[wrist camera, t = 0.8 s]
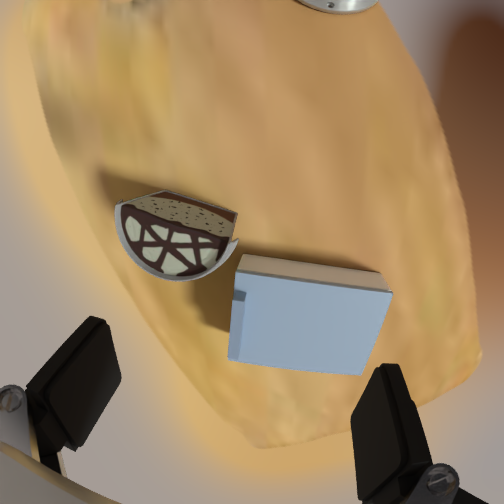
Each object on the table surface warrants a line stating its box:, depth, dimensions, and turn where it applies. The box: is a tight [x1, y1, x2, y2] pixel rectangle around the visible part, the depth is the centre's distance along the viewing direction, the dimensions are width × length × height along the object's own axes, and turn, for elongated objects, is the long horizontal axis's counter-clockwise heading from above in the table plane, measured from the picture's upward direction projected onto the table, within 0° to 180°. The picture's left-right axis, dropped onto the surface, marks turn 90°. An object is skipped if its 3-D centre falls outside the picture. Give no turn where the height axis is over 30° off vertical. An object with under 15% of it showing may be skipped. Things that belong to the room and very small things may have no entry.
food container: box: [115, 190, 239, 281], centre depth 31 cm, size 12×6×10 cm, turn 72°
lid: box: [228, 270, 393, 375], centre depth 32 cm, size 12×17×3 cm
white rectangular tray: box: [237, 254, 391, 291], centre depth 35 cm, size 12×17×4 cm
